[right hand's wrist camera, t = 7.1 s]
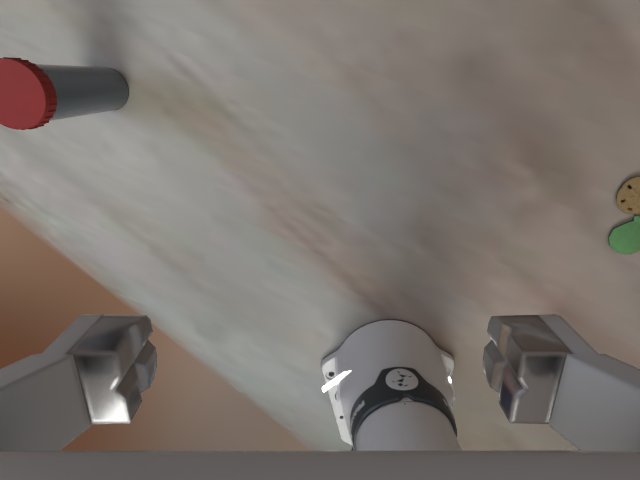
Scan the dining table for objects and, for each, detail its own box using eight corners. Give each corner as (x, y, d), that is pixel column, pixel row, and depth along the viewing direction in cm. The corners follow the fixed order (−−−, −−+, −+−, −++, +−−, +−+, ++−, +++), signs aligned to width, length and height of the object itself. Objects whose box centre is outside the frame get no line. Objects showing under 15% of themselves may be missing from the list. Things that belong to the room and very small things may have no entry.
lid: (19, 139, 36) (7, 142, 35) (-25, 77, 35) (-40, 77, 33) (71, 110, 35) (60, 111, 34) (29, 45, 34) (15, 44, 32)
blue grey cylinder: (103, 117, 50) (11, 134, 35) (79, 79, 48) (-28, 79, 34) (136, 99, 49) (57, 108, 34) (113, 59, 48) (19, 51, 33)
